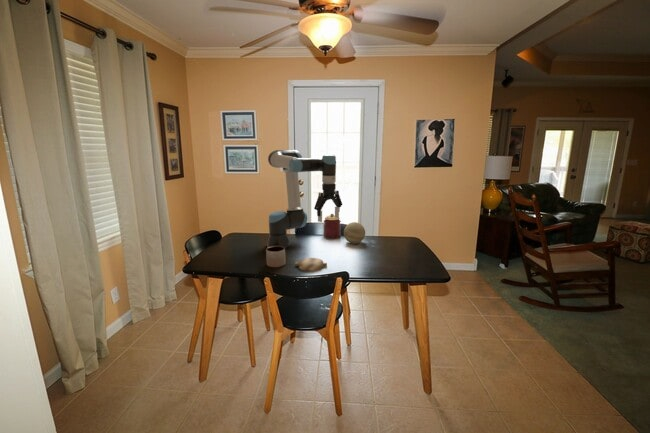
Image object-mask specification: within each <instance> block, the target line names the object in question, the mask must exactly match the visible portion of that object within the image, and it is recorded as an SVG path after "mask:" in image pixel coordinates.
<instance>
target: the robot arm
mask: <svg viewBox="0 0 650 433" xmlns="http://www.w3.org/2000/svg"><path fill="white" fill-rule="evenodd" d="M336 160H337V157H336V155H334V154H323V155H322V157H309V158H305V157H303V155H302V154H301V152H300V151H298V150H297V149H277V150H274V151H271V152H270V153H269V154H268V156H267V162H268V164H269V165H270V166H271V167H273V168H282V171H283V172H284V173H285V184H286V194H287V195H286V196H287V204H288V206H287V209H286V211H285V210H278V211H273V212H271V213H270V214H269V215H268V230H269V232H268V233H269V236H268V240H267V243H266V244H267V248H268V247H271V246H282V247H284V248H285V249H286V248H288V247H290V239H289V237H288V235H287V231H288V230H294V229H301V228H303V227H305V226H306V225H307V222H308V214H307V212H306V211H305V210H304V208H303V206H302V204H301V194H300V192H301V191H300V182H299V181H300V180H299V173H305V172H321V173H322V174H321V175H322V178H321V179H322V180H321V181H322V185H321V186H322V187H321V189H322V192H318V196H317V199H316V202H315V205H314V207H313V208H314V210H316V214H317V215H316V216H317V222H320V223H322V222H323V208H324V205H325V204H326V202H327V201H329V200H331V201H332V203H333V204H334V205H335V206H334V216H335V218H340V209H341V207H342V206H343V202H342V199H341V196H340V191H339V190H337V189H336V186H337V184H336V181H337V180H336V179H337V178H336V177H337V176H336V174H337V173H336V172H337V161H336Z"/></svg>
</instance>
